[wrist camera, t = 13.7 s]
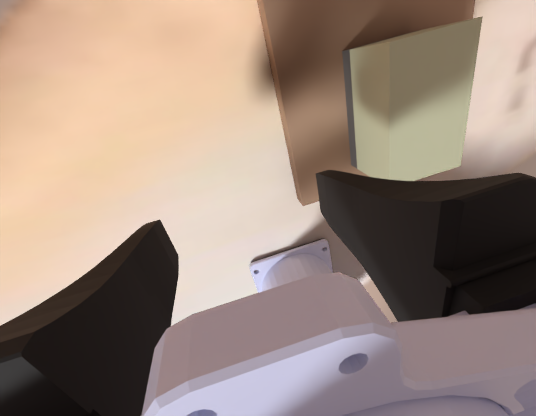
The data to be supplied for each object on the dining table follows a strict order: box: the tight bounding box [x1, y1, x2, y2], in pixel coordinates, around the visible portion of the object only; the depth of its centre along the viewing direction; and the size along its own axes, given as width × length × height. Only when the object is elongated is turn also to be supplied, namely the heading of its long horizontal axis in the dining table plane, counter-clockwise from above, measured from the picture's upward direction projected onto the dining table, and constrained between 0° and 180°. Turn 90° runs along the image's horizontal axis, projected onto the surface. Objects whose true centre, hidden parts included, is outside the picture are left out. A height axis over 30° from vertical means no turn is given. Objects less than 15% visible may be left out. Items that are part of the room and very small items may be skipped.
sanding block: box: [342, 17, 482, 181], centre depth 17 cm, size 8×5×5 cm, turn 13°
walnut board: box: [257, 0, 475, 206], centre depth 18 cm, size 18×14×2 cm
